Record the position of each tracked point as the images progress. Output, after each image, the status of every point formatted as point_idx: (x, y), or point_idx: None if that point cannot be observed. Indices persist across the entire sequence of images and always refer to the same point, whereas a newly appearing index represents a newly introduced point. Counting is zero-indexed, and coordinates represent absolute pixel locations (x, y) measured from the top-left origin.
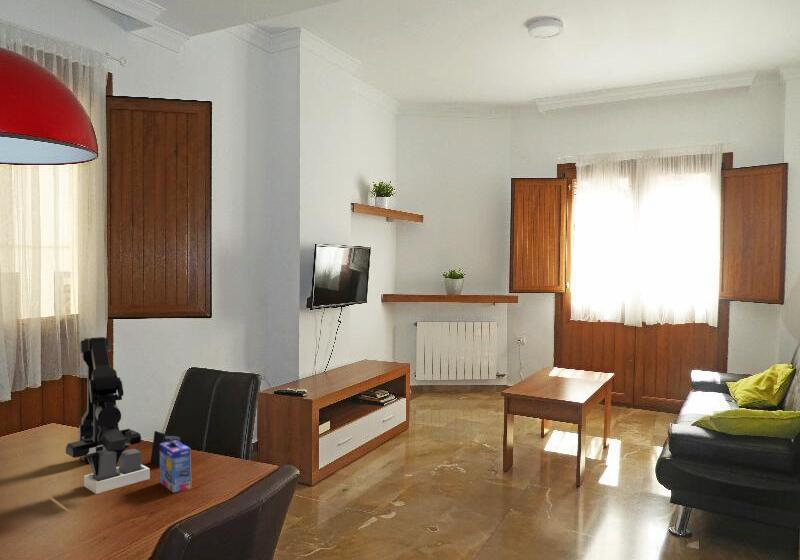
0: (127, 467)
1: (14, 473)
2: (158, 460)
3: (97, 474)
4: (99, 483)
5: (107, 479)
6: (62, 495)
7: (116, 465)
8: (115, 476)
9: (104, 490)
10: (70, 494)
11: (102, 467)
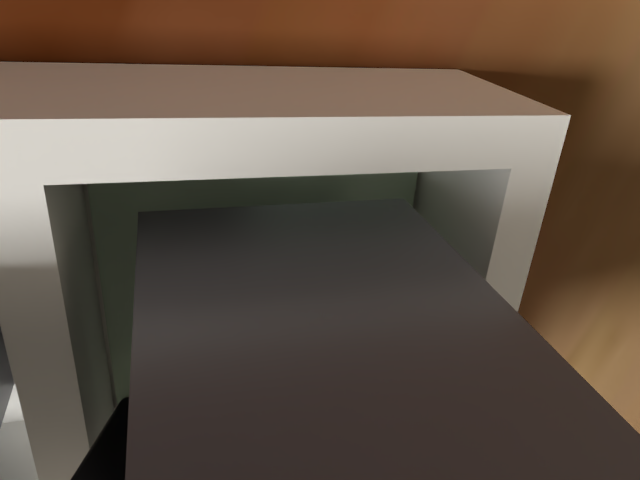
0: None
1: None
2: None
3: None
4: (504, 108)
5: (363, 144)
6: (609, 316)
7: (73, 478)
8: (152, 242)
9: (367, 74)
10: (565, 296)
11: (527, 378)
